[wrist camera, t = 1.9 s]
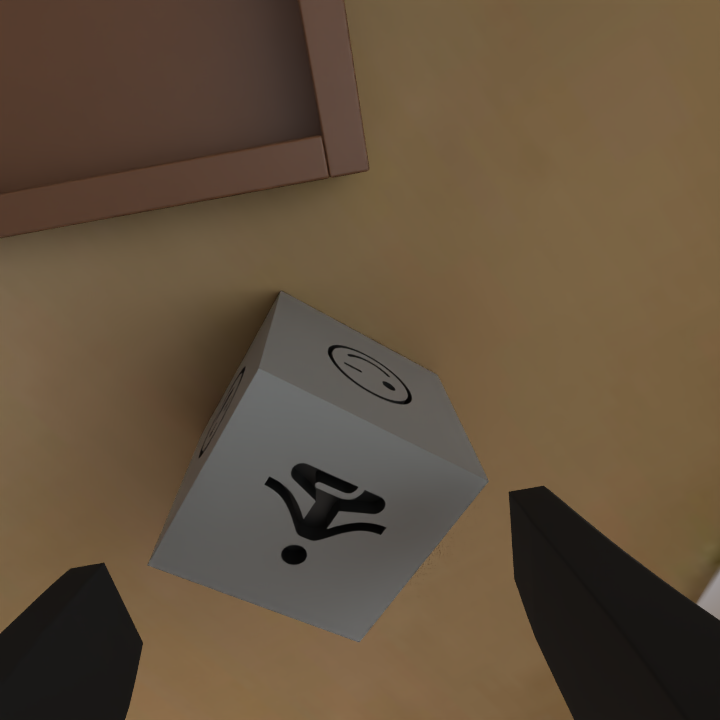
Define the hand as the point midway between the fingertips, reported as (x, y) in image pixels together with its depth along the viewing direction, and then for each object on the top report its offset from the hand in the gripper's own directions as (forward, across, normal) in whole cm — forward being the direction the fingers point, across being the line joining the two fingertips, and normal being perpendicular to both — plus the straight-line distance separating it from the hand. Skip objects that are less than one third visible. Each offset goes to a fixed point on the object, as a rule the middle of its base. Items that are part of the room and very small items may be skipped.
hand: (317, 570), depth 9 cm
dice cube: (+6, 0, 0) cm, 6 cm away
